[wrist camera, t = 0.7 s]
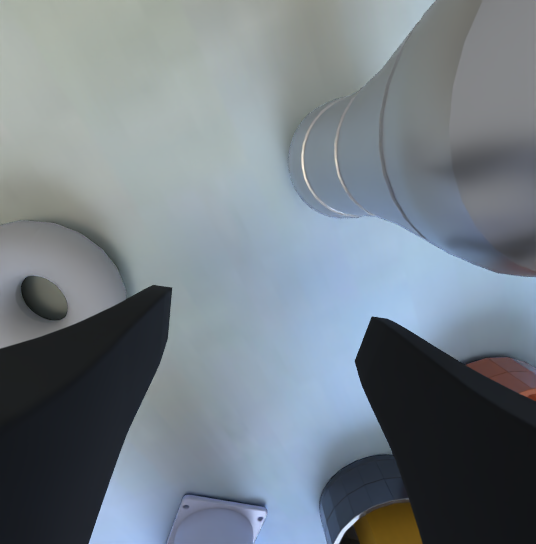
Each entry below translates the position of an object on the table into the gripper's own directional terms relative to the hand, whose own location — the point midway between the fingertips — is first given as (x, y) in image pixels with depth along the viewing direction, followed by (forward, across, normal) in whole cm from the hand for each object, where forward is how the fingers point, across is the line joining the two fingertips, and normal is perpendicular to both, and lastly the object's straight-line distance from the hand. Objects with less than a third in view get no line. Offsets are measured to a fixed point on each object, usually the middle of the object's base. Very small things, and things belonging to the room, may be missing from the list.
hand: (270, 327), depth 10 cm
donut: (+11, +13, +6) cm, 18 cm away
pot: (+8, -16, +23) cm, 29 cm away
